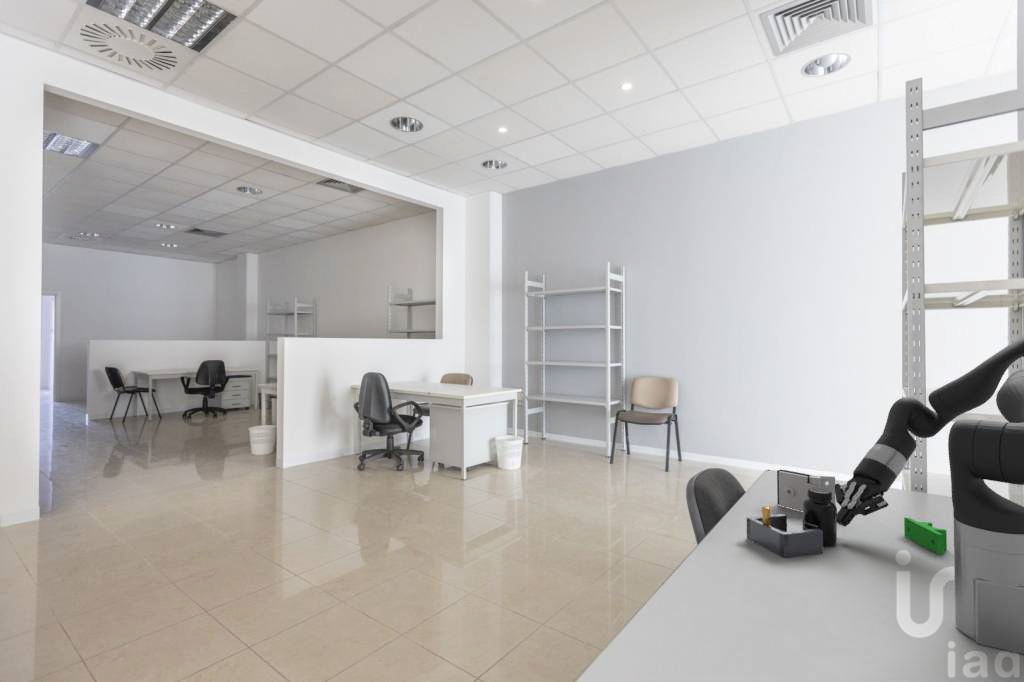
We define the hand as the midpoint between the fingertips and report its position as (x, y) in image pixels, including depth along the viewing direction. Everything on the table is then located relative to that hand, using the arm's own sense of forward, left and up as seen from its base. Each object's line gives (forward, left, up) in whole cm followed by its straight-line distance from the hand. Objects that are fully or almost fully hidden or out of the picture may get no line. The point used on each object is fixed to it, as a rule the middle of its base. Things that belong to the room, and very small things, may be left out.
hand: (839, 523), depth 118 cm
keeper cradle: (-11, +11, -4) cm, 16 cm away
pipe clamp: (+6, -17, -4) cm, 19 cm away
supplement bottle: (-4, +4, -4) cm, 7 cm away
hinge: (+21, +7, -4) cm, 22 cm away
